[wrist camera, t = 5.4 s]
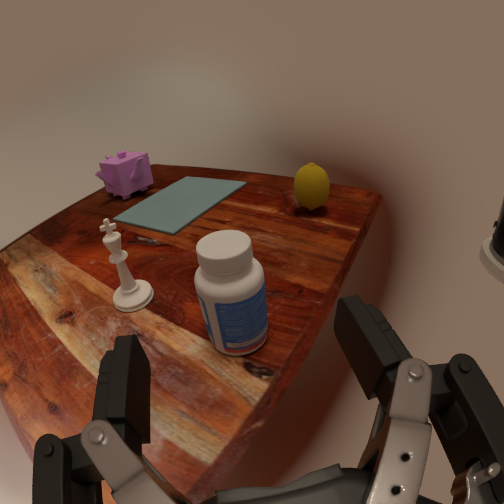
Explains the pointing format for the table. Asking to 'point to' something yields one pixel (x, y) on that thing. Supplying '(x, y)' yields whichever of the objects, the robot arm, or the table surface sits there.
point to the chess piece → (125, 275)
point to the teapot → (126, 173)
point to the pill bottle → (231, 292)
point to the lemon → (311, 186)
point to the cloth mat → (179, 204)
